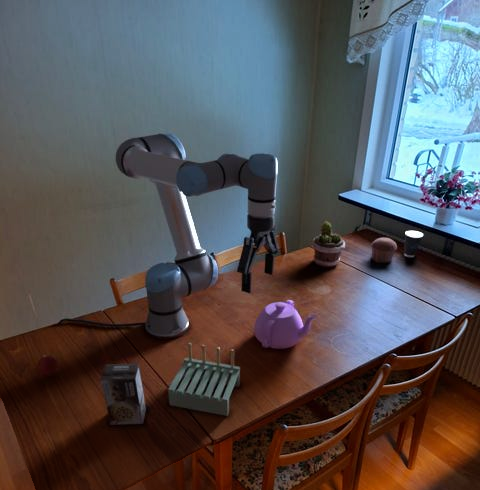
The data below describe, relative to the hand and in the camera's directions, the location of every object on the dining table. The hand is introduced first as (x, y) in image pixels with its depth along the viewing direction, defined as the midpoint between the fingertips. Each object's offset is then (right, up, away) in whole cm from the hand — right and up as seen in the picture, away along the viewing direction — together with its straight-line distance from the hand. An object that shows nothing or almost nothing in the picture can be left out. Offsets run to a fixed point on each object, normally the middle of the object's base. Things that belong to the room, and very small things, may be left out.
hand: (257, 282), depth 134 cm
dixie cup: (+76, +20, +81) cm, 113 cm away
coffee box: (-36, -38, -11) cm, 54 cm away
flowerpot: (+35, +15, +73) cm, 82 cm away
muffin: (+62, +17, +77) cm, 100 cm away
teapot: (+10, -18, +21) cm, 29 cm away
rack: (-15, -33, -3) cm, 37 cm away
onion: (-64, -29, +4) cm, 70 cm away
